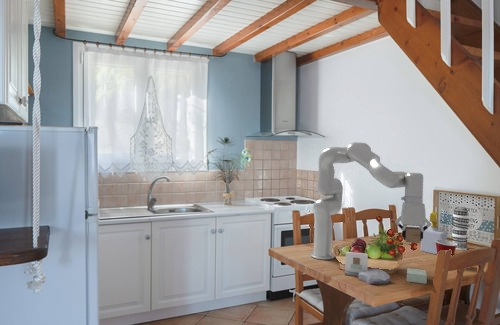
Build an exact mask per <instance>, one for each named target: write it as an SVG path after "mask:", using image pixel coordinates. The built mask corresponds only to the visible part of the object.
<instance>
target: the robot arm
mask: <svg viewBox="0 0 500 325" xmlns="http://www.w3.org/2000/svg"><path fill="white" fill-rule="evenodd" d="M318 156H319V157H318V173H317V184H316V185H317V187H316V189H317V193H318V194H319V196H323V198H319V199H317V200H316V201H314V203H313V207H312V209H313V210H312V212H313V217H314V218H313V219H314V220H313V221H314V228H313V230H314V233H313V234H314V235H313V236H314V237H313V252H311V253H310V257H312V258H314V259H316V260H324V261H325V260H333V259H335V254H334V253H333V252H332V249H333V248H332V247H333V219H332V217H331V216H333V215H336V214H337V215H338V213H339V212H340V211H341V209H342V205H343V190H344V189H343V188H344V187H343V183H342V181H341V180H340V179H339V178H337V177H335V166H334V164H348V163H353V162H356V163H357V164H359V165H360V166H362V167H363V168H365V169H366V170H367V171H368V172H369V174H370V175H371V176H372V178H374V180H376V181H377V182H379V183H380V184H382V185H383V186H385V187H386V188H388V189H398V188H399V189H400V188H404V196H401V198H400V199H401V200H402V201H404V202H402V205H401V206H402V207H401V212H400V216H399V217H398V218H396V220H394V223H395V224H396V225H397V226H398V227H399V229H400V230H401V238H403V240H404V241H405V239H406V231H405V228H406V226H407V227H408V226H409V227H419V228H420V230H421V236H420V242H421V241H422V239H423V232H424V231H425V230H426V229H429V228H431V226H433V224H432V222H430V220H429V219H428V218H426V215H427V214H426V206H425V203H423V200H424V199H423V197H424V174H422V173H421V172H407V171H406V172H405V171H392V170H390V169H389V168H388V167H386V166H385V165H384V164H382V162H381V157H380V156H379V155H378V154H376V152H373V151H372V149H371V146H370V145H369V144H368V143H366V142H357V141H355V142H352V143H350V144H348V146H346V147H345V146H344V147H341V146H332V147H327V148H325V149H323V150H322V152H321V153H320V154H319V155H318ZM400 222H401V223H400Z"/></svg>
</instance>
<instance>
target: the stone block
mask: <svg viewBox="0 0 500 325" xmlns="http://www.w3.org/2000/svg"><path fill="white" fill-rule="evenodd" d="M357 277H358V280H359V281H361V282H364V283H366V284H368V285H378V284H379V285H380V284H381V285H382V284H388V283H390V281H391V276H390V274H388V273H387V272H385V271H384V270H382V269H378V268H372V269H367V272H362V271H361V272H360V273H359V276H357Z"/></svg>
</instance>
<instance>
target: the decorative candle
mask: <svg viewBox="0 0 500 325" xmlns="http://www.w3.org/2000/svg"><path fill="white" fill-rule="evenodd" d="M452 210H453V213H452V215H451V216H452V217H451V219H452V221H451V222H452V223H451V225H452V226H451V229H452V235H451V242H455V243H457V244H458V245H457V246H456V249H455V250H458V251H467V250H468V243H467V242H468V234H467V233H468V231H469V228H468V227H469V225H468V224H469V216H468V215H469V214H468V213H469V209H467V207H465V206H455V207H454V208H453V209H452Z"/></svg>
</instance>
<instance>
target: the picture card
mask: <svg viewBox="0 0 500 325" xmlns="http://www.w3.org/2000/svg"><path fill="white" fill-rule="evenodd" d="M368 257H369V254H368V253H363V252H351V251H346V252H345V259H344V260H345V261H344V262H345V263H344V264H345V265H344V276H351V277H358V276H359V273H360V272H361V271H362V272H367V271H368V265H369V264H368V263H369V260H368V259H369V258H368Z"/></svg>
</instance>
